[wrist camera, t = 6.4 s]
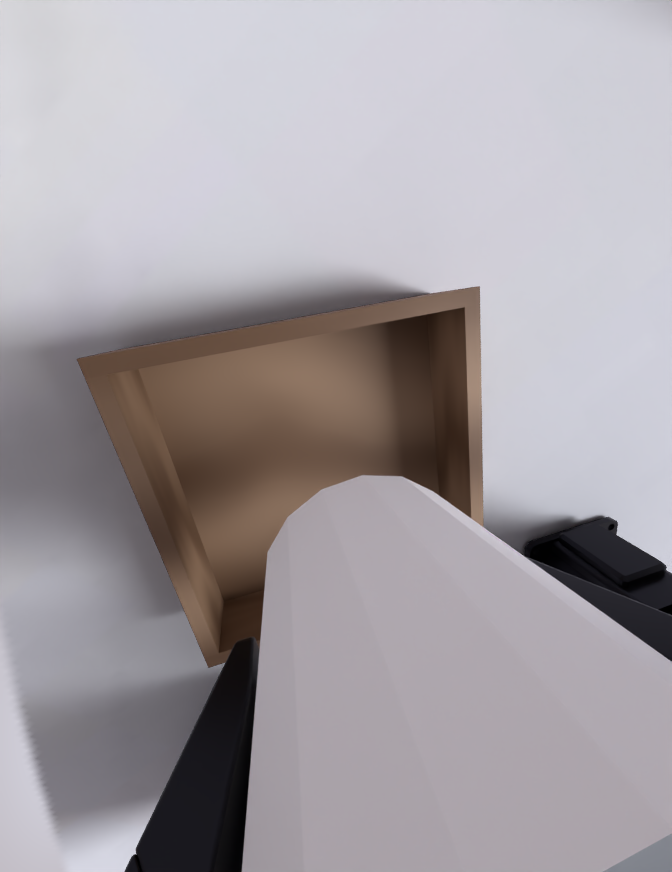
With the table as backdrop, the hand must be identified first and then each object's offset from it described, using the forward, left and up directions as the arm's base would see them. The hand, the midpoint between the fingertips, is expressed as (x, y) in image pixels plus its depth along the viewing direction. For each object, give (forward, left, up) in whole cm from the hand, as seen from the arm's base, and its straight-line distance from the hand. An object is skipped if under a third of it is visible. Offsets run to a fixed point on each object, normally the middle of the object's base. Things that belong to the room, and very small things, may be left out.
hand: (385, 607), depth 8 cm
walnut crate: (0, 0, -9) cm, 9 cm away
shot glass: (0, 0, -2) cm, 2 cm away
